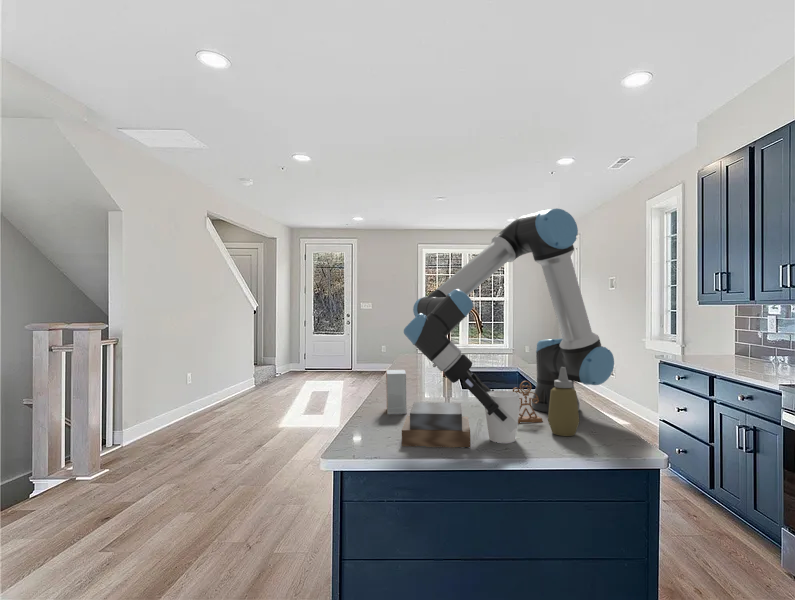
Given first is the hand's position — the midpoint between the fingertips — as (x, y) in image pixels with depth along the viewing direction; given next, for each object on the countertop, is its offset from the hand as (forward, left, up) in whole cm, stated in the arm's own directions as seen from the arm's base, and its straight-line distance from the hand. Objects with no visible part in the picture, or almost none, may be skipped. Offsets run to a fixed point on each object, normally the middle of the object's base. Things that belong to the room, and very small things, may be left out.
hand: (511, 421), depth 126 cm
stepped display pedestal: (+19, 0, -5) cm, 20 cm away
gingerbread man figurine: (-7, -20, -5) cm, 22 cm away
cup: (+2, 0, -5) cm, 6 cm away
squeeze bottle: (-15, -7, -5) cm, 17 cm away
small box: (+33, -29, -5) cm, 45 cm away
